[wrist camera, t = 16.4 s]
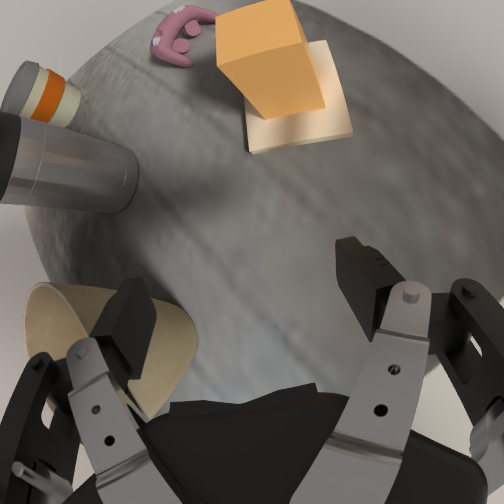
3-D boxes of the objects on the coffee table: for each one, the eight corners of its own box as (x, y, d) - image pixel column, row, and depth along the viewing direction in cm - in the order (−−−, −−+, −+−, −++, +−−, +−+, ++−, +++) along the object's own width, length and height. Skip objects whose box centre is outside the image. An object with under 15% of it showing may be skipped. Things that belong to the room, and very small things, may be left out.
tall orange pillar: (265, 119, 25) (216, 66, 16) (259, 74, 25) (215, 16, 16) (326, 108, 23) (302, 42, 14) (314, 62, 23) (287, -5, 14)
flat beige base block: (253, 154, 27) (225, 133, 21) (243, 65, 27) (219, 36, 21) (353, 136, 23) (350, 107, 17) (327, 45, 23) (316, 9, 18)
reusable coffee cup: (81, 121, 39) (14, 100, 25) (50, 146, 43) (-7, 134, 29) (90, 71, 39) (35, 46, 25) (58, 99, 44) (8, 82, 30)
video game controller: (212, 24, 30) (175, 3, 26) (227, 16, 27) (187, -8, 22) (179, 73, 32) (138, 53, 27) (192, 69, 29) (146, 46, 24)
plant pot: (244, 388, 28) (151, 478, 13) (148, 387, 33) (57, 434, 18) (209, 254, 29) (75, 261, 14) (118, 282, 34) (12, 296, 19)
